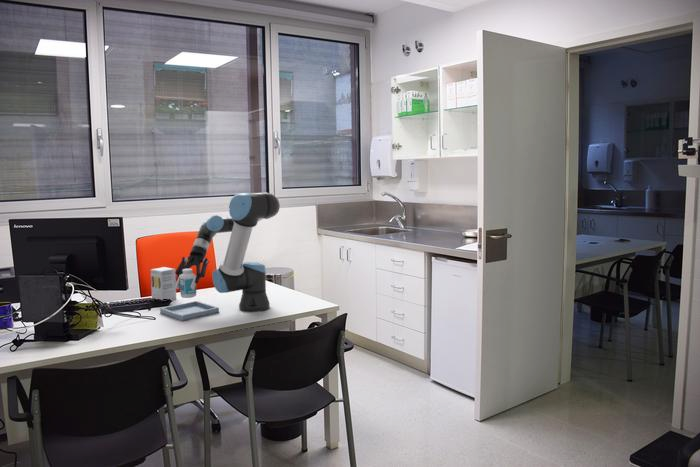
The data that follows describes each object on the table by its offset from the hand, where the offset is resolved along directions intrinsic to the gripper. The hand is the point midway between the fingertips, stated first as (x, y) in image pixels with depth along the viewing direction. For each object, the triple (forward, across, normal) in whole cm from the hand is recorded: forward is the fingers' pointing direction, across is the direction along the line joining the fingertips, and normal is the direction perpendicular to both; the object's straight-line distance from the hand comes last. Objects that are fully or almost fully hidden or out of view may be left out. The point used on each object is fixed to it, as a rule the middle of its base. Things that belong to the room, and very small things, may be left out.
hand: (184, 287), depth 260 cm
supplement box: (-7, +26, -27) cm, 38 cm away
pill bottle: (+1, 0, -6) cm, 6 cm away
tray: (+7, -1, -11) cm, 13 cm away
